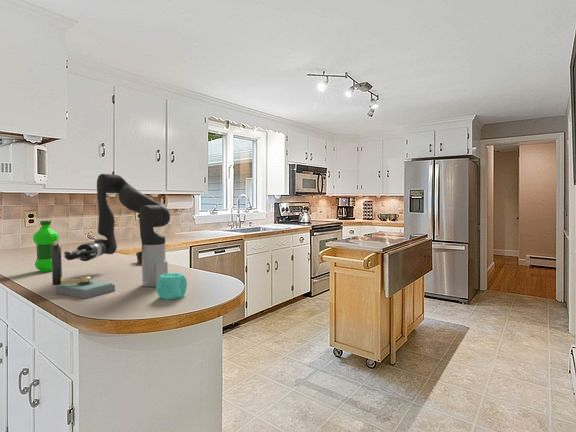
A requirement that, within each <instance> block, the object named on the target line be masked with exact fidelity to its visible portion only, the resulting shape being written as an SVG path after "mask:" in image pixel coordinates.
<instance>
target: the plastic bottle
mask: <svg viewBox="0 0 576 432" xmlns="http://www.w3.org/2000/svg"><path fill="white" fill-rule="evenodd" d="M39 224H40V226H41V228H39V230H37V231H36V232H35V233H33V236H32V241H33V243H34V244H35V245H36V260H35V262H34V267H35V269H36V270H38V271H39V272H41V273H49V271H50V272H52V254H51V245H52V244H53V243H54V242H55V241H58V242H59V240H60V235H59V233H58V232H57V231H56V230H54V229H52V228H51V227H50V226H51V225H52V222H51V220H41V221H40V222H39Z"/></svg>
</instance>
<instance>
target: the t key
mask: <svg viewBox="0 0 576 432" xmlns="http://www.w3.org/2000/svg"><path fill="white" fill-rule="evenodd" d="M51 254H52V271H51V274H52V275H51V276H52V277H51V278H52V280H51V281H52V286H58V285H62V284H72V283H81V284H85V283H90V282H91V280H92V279H91V278H92V277H91V276H89V275H87V276H80V277H78V278H69V279H63V270H62V269H63V268H62V264H63V263H62V244H61V243H59V240H58V241H55V242H54V243H53V244H52V245H51Z"/></svg>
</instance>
